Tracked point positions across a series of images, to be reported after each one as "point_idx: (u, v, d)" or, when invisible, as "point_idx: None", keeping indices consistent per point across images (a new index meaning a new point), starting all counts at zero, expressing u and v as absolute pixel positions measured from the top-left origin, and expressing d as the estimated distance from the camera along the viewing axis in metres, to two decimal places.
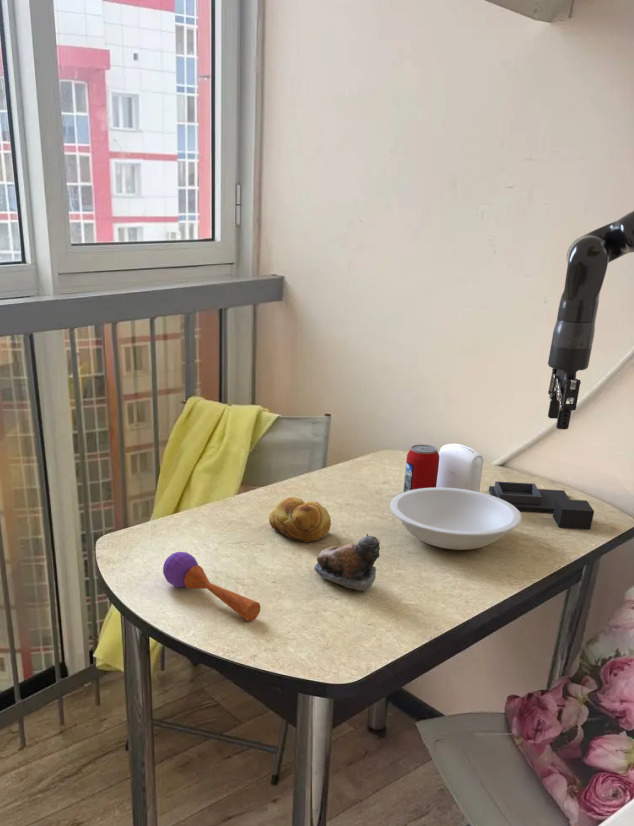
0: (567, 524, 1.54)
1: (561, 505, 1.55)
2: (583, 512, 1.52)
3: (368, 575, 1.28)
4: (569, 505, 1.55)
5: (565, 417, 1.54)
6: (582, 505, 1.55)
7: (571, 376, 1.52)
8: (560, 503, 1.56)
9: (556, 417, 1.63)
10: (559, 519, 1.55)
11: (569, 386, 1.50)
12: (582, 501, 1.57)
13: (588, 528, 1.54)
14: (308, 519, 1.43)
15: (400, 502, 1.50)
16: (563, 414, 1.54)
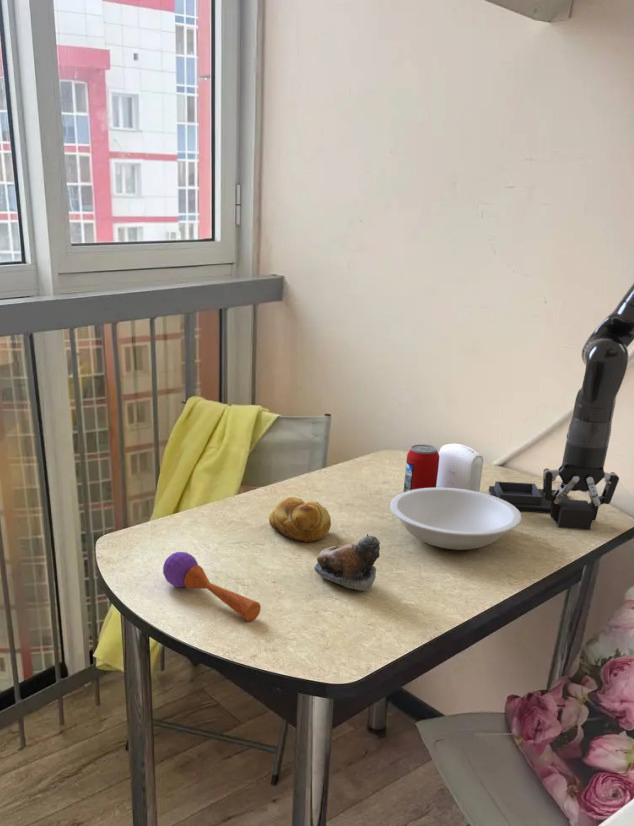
0: (567, 524, 1.54)
1: (561, 505, 1.55)
2: (583, 512, 1.52)
3: (368, 575, 1.28)
4: (569, 505, 1.55)
5: (551, 507, 1.56)
6: (582, 505, 1.55)
7: (561, 468, 1.53)
8: (560, 503, 1.56)
9: None
10: (559, 519, 1.55)
11: (543, 475, 1.55)
12: (582, 501, 1.57)
13: (588, 528, 1.54)
14: (308, 519, 1.43)
15: (400, 502, 1.50)
16: (551, 503, 1.56)
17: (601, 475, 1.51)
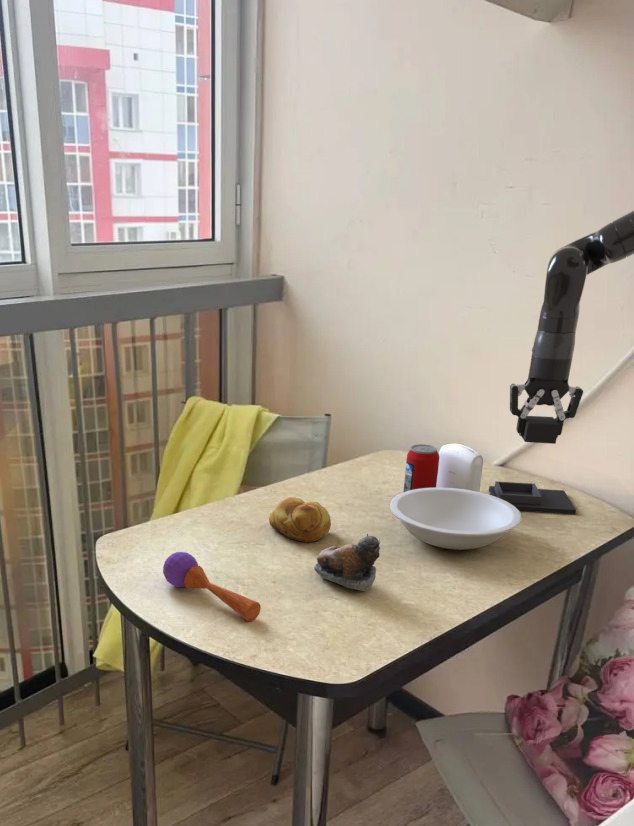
0: (533, 438, 1.57)
1: (527, 420, 1.58)
2: (548, 425, 1.55)
3: (368, 575, 1.28)
4: (535, 420, 1.58)
5: (518, 422, 1.59)
6: (548, 420, 1.58)
7: (527, 382, 1.55)
8: (526, 418, 1.59)
9: None
10: (525, 433, 1.57)
11: (510, 390, 1.57)
12: (548, 417, 1.60)
13: (553, 442, 1.56)
14: (308, 519, 1.43)
15: (400, 502, 1.50)
16: (518, 419, 1.59)
17: (566, 389, 1.54)
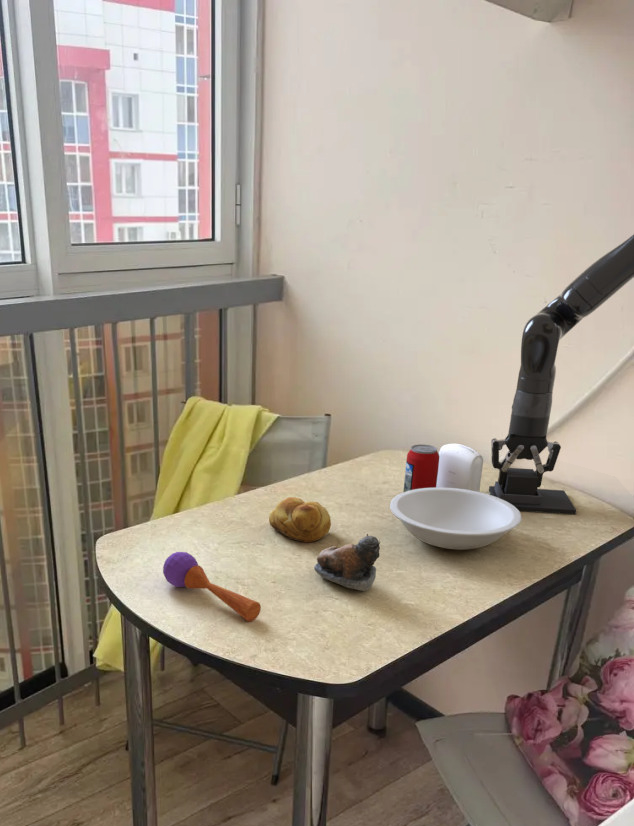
0: (514, 490, 1.64)
1: (508, 473, 1.65)
2: (527, 479, 1.63)
3: (368, 575, 1.28)
4: (516, 472, 1.65)
5: (499, 475, 1.66)
6: (528, 473, 1.65)
7: (507, 438, 1.63)
8: (507, 471, 1.66)
9: None
10: (506, 486, 1.65)
11: (491, 445, 1.65)
12: (528, 469, 1.67)
13: (533, 494, 1.64)
14: (308, 519, 1.43)
15: (400, 502, 1.50)
16: (499, 471, 1.67)
17: (544, 444, 1.61)
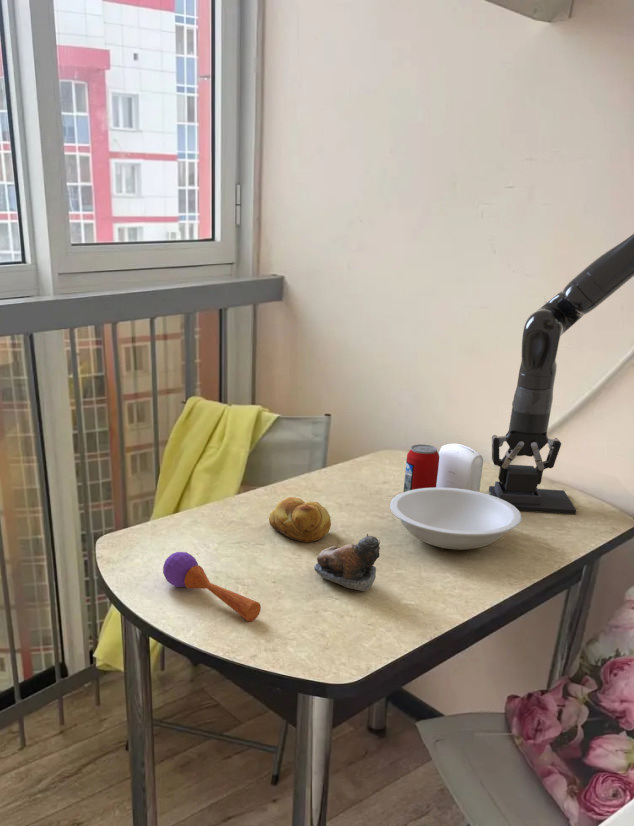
0: (514, 487, 1.64)
1: (508, 470, 1.65)
2: (528, 475, 1.62)
3: (368, 575, 1.28)
4: (516, 469, 1.65)
5: (500, 471, 1.66)
6: (528, 469, 1.65)
7: (508, 434, 1.63)
8: (508, 468, 1.66)
9: None
10: (506, 483, 1.64)
11: (492, 441, 1.65)
12: (529, 466, 1.67)
13: (533, 491, 1.64)
14: (308, 519, 1.43)
15: (400, 502, 1.50)
16: (500, 468, 1.66)
17: (545, 441, 1.61)
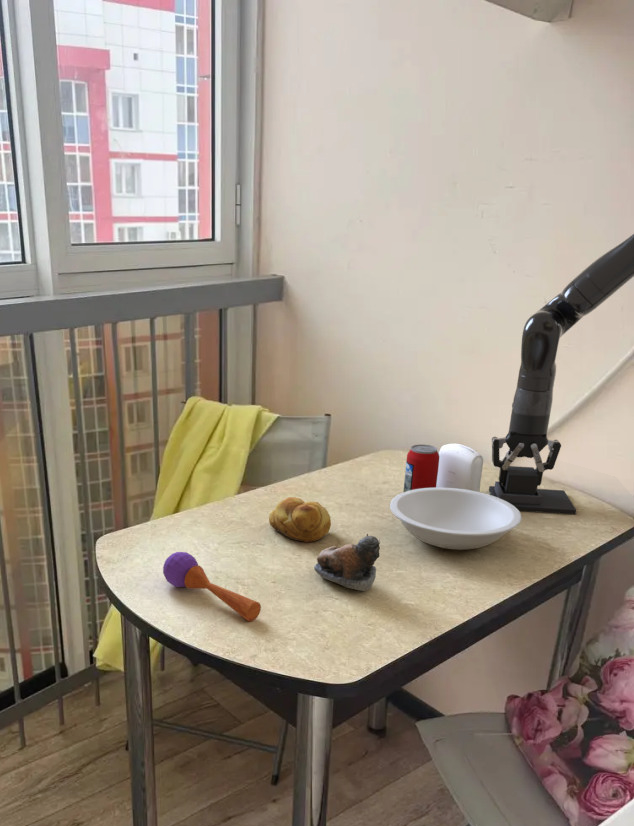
0: (514, 489, 1.64)
1: (508, 471, 1.65)
2: (528, 477, 1.63)
3: (368, 575, 1.28)
4: (516, 471, 1.65)
5: (500, 473, 1.66)
6: (528, 471, 1.65)
7: (507, 436, 1.63)
8: (508, 469, 1.66)
9: None
10: (506, 484, 1.65)
11: (492, 443, 1.65)
12: (529, 467, 1.67)
13: (533, 492, 1.64)
14: (308, 519, 1.43)
15: (400, 502, 1.50)
16: (500, 470, 1.66)
17: (545, 442, 1.61)
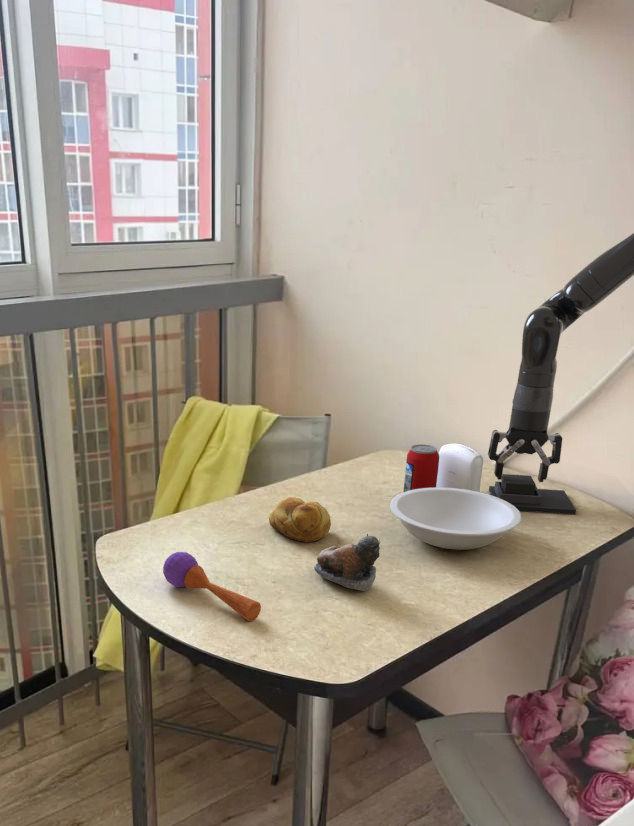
0: None
1: (506, 479, 1.66)
2: (525, 485, 1.63)
3: (368, 575, 1.28)
4: (514, 479, 1.66)
5: (495, 466, 1.66)
6: (525, 479, 1.66)
7: (509, 431, 1.62)
8: (505, 478, 1.67)
9: (539, 480, 1.65)
10: (504, 492, 1.65)
11: (492, 436, 1.64)
12: (526, 476, 1.68)
13: None
14: (308, 519, 1.43)
15: (400, 502, 1.50)
16: None
17: (545, 439, 1.61)
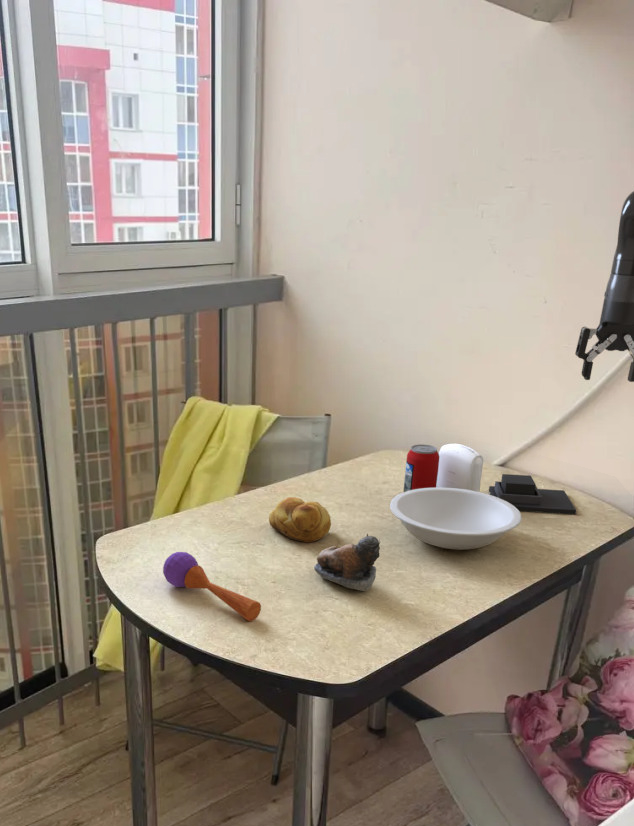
0: None
1: (506, 479, 1.66)
2: (525, 485, 1.63)
3: (368, 575, 1.28)
4: (514, 479, 1.66)
5: (584, 366, 1.58)
6: (525, 479, 1.66)
7: None
8: (505, 478, 1.67)
9: (629, 380, 1.58)
10: (504, 492, 1.65)
11: (581, 333, 1.57)
12: (526, 476, 1.68)
13: None
14: (308, 519, 1.43)
15: (400, 502, 1.50)
16: (583, 363, 1.59)
17: None
